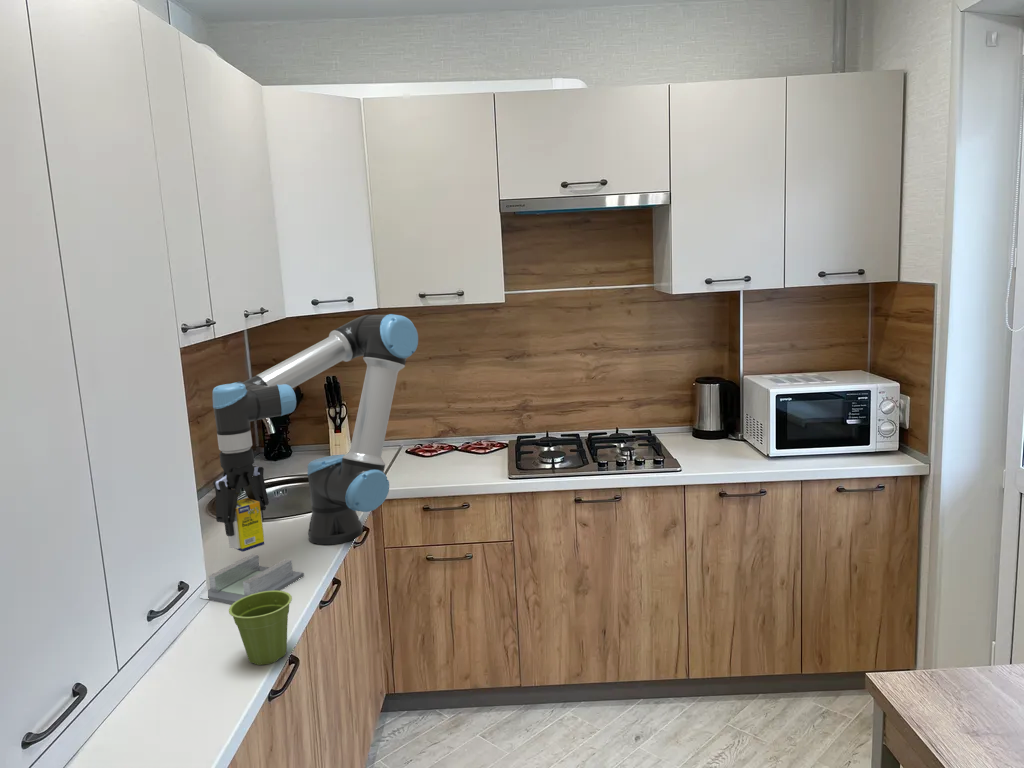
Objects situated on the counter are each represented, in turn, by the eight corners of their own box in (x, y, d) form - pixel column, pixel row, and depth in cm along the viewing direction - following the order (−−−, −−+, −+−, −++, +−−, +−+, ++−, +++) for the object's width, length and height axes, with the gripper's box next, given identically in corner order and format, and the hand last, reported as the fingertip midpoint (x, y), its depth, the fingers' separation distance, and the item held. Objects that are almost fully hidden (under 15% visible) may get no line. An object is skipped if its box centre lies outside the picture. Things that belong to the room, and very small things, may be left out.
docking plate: (256, 568, 192) (253, 550, 191) (303, 576, 185) (301, 557, 184) (200, 598, 176) (197, 578, 176) (250, 608, 169) (247, 587, 169)
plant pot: (285, 635, 156) (279, 584, 154) (307, 656, 146) (301, 603, 144) (227, 655, 149) (220, 602, 147) (246, 679, 139) (239, 623, 137)
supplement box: (265, 544, 179) (260, 501, 178) (242, 552, 175) (236, 508, 173) (252, 539, 183) (247, 497, 181) (229, 547, 179) (224, 503, 177)
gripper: (255, 438, 186) (265, 526, 189) (190, 459, 168) (202, 555, 172) (278, 440, 182) (287, 529, 186) (214, 461, 165) (226, 559, 168)
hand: (247, 541), depth 179 cm, fingers closed on supplement box, 7 cm apart
